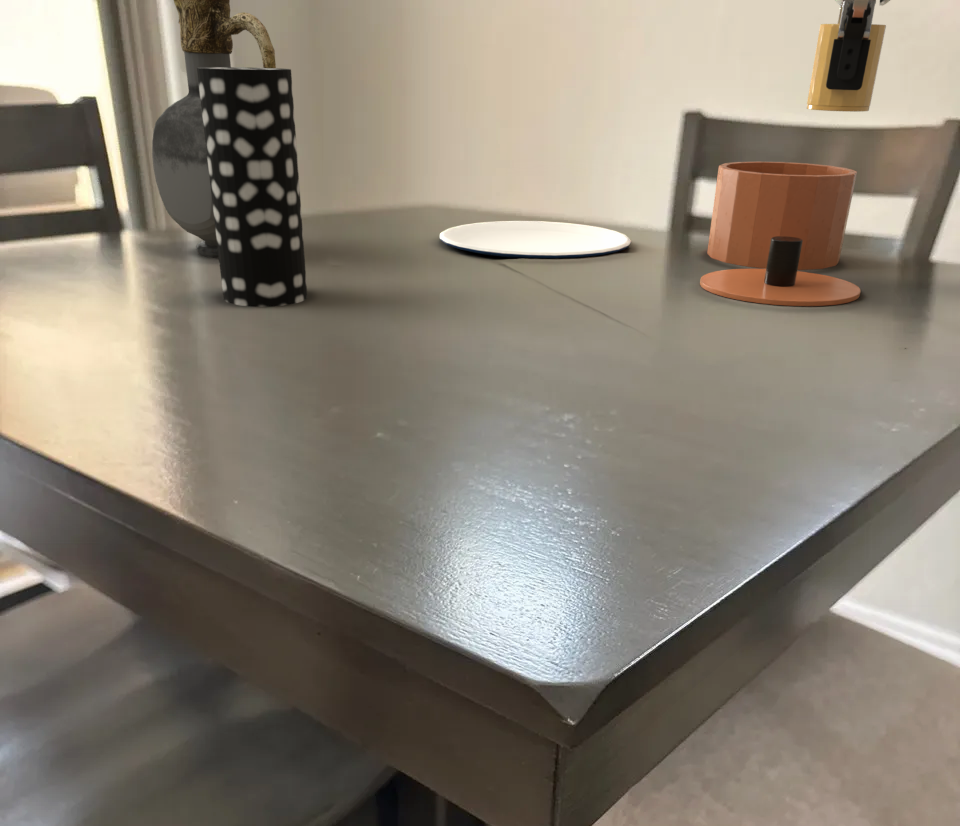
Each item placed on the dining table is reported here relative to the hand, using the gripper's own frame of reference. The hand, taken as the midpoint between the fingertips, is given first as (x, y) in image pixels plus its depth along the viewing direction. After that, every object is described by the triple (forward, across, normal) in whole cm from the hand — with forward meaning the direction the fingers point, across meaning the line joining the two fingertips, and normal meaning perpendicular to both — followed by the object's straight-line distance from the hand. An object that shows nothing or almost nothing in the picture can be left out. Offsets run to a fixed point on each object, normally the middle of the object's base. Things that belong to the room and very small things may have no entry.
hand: (842, 86), depth 93 cm
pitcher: (+20, -1, +66) cm, 69 cm away
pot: (+20, +19, +4) cm, 28 cm away
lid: (+19, 0, +3) cm, 19 cm away
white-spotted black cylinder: (+20, -21, +52) cm, 60 cm away
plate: (+20, +19, +34) cm, 44 cm away
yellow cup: (+2, 0, 0) cm, 2 cm away
